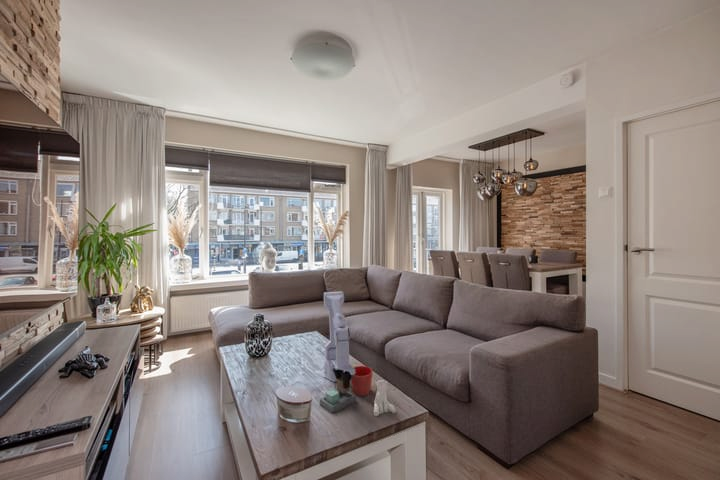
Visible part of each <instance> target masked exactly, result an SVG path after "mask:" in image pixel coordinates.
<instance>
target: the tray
mask: <svg viewBox="0 0 720 480" xmlns="http://www.w3.org/2000/svg"><path fill="white" fill-rule="evenodd" d="M336 391H337V392H338V393H339V403H337V404H334V405H332V404H330V403H328V402H327V401H326V395H325V396H324V397H321V398H319V405H320V406H321V407H322V408H324V409H325V410H327V411H328V412H330V413H332V414H334V413H336V412H338V411H340V410H342V409H343V408H347V407H348V406H350V405H352V404H354V403H356V402H357V395H356V394H355V393H353V392H351V391H350V390H349V391H347V392H345V393H341V392H339V391H338V390H336Z"/></svg>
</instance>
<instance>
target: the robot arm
mask: <svg viewBox="0 0 720 480" xmlns="http://www.w3.org/2000/svg"><path fill="white" fill-rule="evenodd" d="M344 303H345V294H344V292H343V290H339V291H329V292H326V291H324V292H323V306H324V308H325V309H327V311H328V319H329V320H328V322H329V323H328V325H329V341H328V342H326V344H325V346H324V358H325V360H324V370H323V372H324V374H323V378H326V379H327V380H329V381H331V382H333V383H335V382H336V383H337V379H338V378H340V377H342V378H343V382H344V388H345V389H346V388H348V387H349V384H350V385H351V378H352V375H354V374H355V369H354V368H353V366H352V365H351V363H350V346H349V345H350V341H351V331H350V327H349V325H347V321H346V316H345V315H344V314H343V313H342V311H343V310H342V306H343V304H344Z"/></svg>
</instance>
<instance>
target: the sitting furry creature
mask: <svg viewBox="0 0 720 480" xmlns="http://www.w3.org/2000/svg"><path fill="white" fill-rule="evenodd" d="M374 384H375V385H376V390H377V392H376V394H375V398H374V403H373V416H374V417H378V416H379V415H380V414H384V413H388V412H391V413H392V414H395V413H396V411H397V410H396V407H395V405H394V404H392V403H390V402H389V400H388V394H387V392H386V391H387V390H388V380H387V381H386V380H384V379H381V380H380V379H378V380H377V381H374Z"/></svg>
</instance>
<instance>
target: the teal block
mask: <svg viewBox="0 0 720 480" xmlns="http://www.w3.org/2000/svg"><path fill="white" fill-rule="evenodd" d="M337 391H338V390H335V389H331V390H329V391H326V393H325V396H326V401H327V402H328V403H330V404H332V405H334V404H337V403H339V393H338V392H337Z"/></svg>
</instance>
